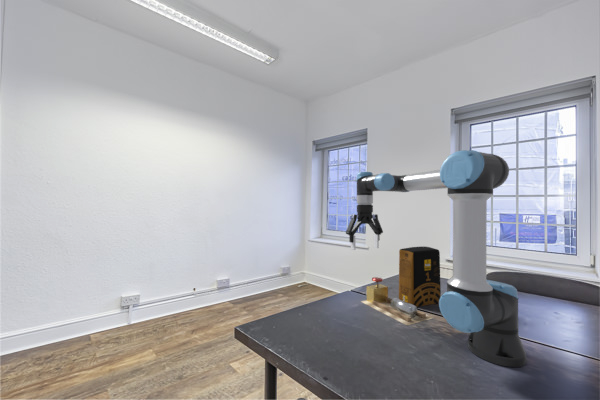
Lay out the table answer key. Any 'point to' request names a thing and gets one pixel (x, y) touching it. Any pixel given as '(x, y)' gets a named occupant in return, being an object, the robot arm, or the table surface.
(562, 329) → the table surface
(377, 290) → the valve
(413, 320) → the board
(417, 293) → the black and orange box
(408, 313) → the silver metal cylinder
